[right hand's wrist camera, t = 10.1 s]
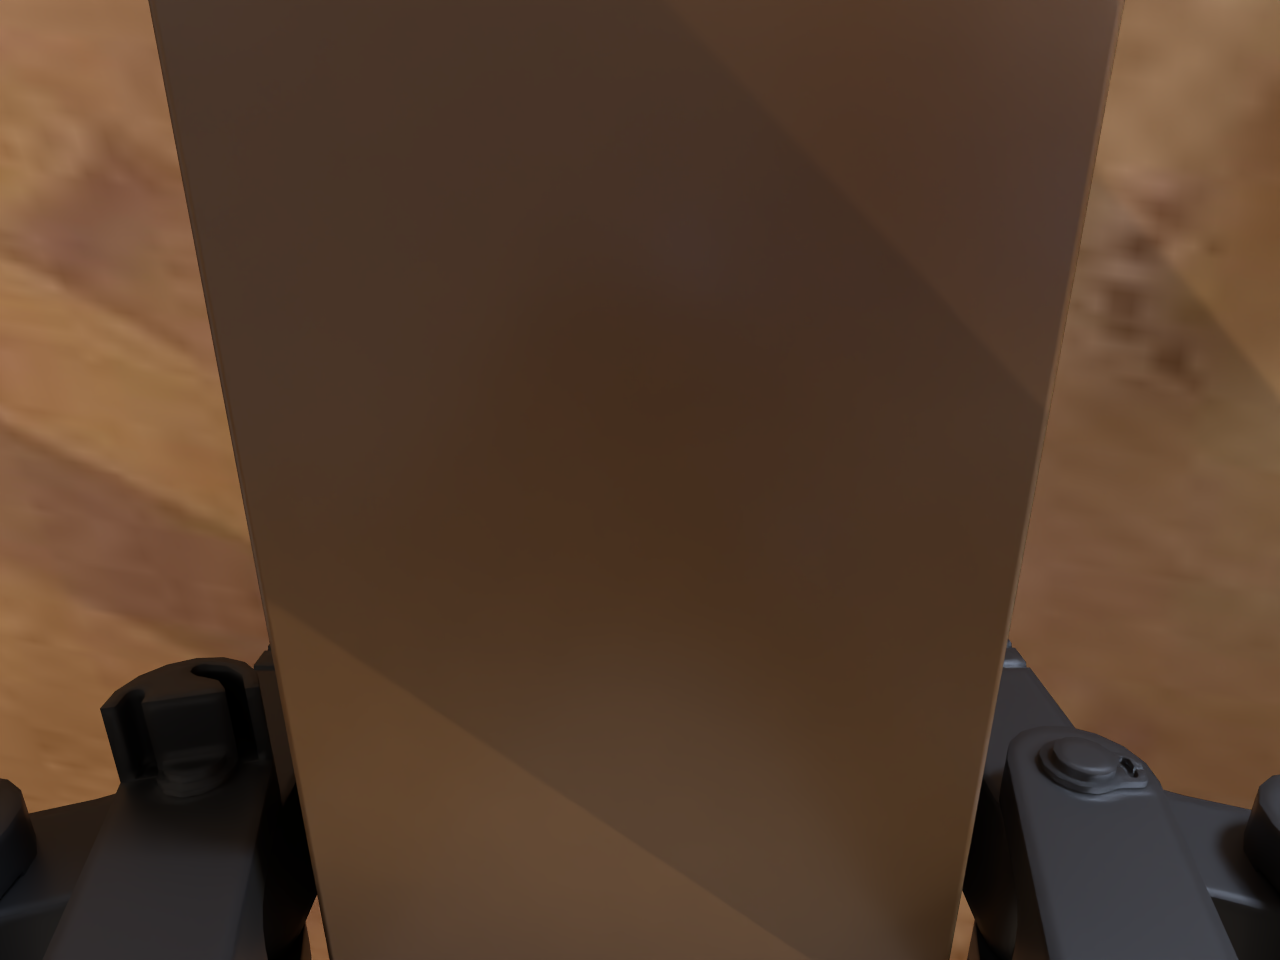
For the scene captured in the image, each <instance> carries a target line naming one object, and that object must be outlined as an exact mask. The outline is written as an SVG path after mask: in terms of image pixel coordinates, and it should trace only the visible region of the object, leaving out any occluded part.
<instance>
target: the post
mask: <svg viewBox="0 0 1280 960" xmlns="http://www.w3.org/2000/svg"><path fill="white" fill-rule="evenodd" d="M148 1H149V6H150V12H151V17H152V22H153V27H154V33H155V38H156V43H157V49H158V54H159V59H160V64H161V70H162V75H163V80H164V86H165V91H166V96H167V101H168V107H169V112H170V117H171V123H172V128H173V133H174V139H175V144H176V149H177V154H178V160H179V165H180V170H181V176H182V181H183V186H184V191H185V197H186V202H187V207H188V213H189V218H190V223H191V228H192V234H193V239H194V244H195V250H196V255H197V260H198V265H199V271H200V276H201V281H202V287H203V292H204V297H205V303H206V308H207V313H208V318H209V324H210V329H211V334H212V340H213V345H214V350H215V355H216V361H217V366H218V371H219V377H220V382H221V387H222V393H223V398H224V403H225V408H226V414H227V419H228V424H229V430H230V435H231V440H232V445H233V451H234V456H235V461H236V467H237V472H238V477H239V482H240V488H241V493H242V498H243V504H244V509H245V514H246V519H247V525H248V530H249V535H250V541H251V546H252V551H253V557H254V562H255V567H256V572H257V578H258V583H259V588H260V594H261V599H262V604H263V609H264V615H265V620H266V625H267V631H268V636H269V641H270V647H271V652H272V657H273V662H274V668H275V673H276V678H277V684H278V689H279V694H280V699H281V705H282V710H283V715H284V721H285V726H286V731H287V736H288V742H289V747H290V752H291V758H292V763H293V768H294V773H295V779H296V784H297V789H298V795H299V800H300V805H301V811H302V816H303V821H304V826H305V832H306V837H307V842H308V848H309V853H310V858H311V863H312V869H313V874H314V879H315V885H316V890H317V895H318V900H319V906H320V911H321V916H322V922H323V927H324V932H325V938H326V943H327V948H328V953H329V959H330V960H949V958H950V953H951V948H952V942H953V937H954V931H955V926H956V920H957V915H958V909H959V904H960V898H961V893H962V887H963V882H964V876H965V871H966V866H967V860H968V855H969V849H970V844H971V838H972V833H973V827H974V822H975V816H976V811H977V805H978V800H979V794H980V789H981V784H982V778H983V773H984V767H985V762H986V756H987V751H988V745H989V740H990V734H991V729H992V723H993V718H994V713H995V707H996V702H997V696H998V691H999V685H1000V680H1001V674H1002V669H1003V663H1004V658H1005V652H1006V647H1007V641H1008V636H1009V631H1010V625H1011V620H1012V614H1013V609H1014V603H1015V598H1016V592H1017V587H1018V581H1019V576H1020V570H1021V565H1022V559H1023V554H1024V549H1025V543H1026V538H1027V532H1028V527H1029V521H1030V516H1031V510H1032V505H1033V499H1034V494H1035V488H1036V483H1037V478H1038V472H1039V467H1040V461H1041V456H1042V450H1043V445H1044V439H1045V434H1046V428H1047V423H1048V417H1049V412H1050V406H1051V401H1052V396H1053V390H1054V385H1055V379H1056V374H1057V368H1058V363H1059V357H1060V352H1061V346H1062V341H1063V335H1064V330H1065V324H1066V319H1067V314H1068V308H1069V303H1070V297H1071V292H1072V286H1073V281H1074V275H1075V270H1076V264H1077V259H1078V253H1079V248H1080V243H1081V237H1082V232H1083V226H1084V221H1085V215H1086V210H1087V204H1088V199H1089V193H1090V188H1091V182H1092V177H1093V171H1094V166H1095V161H1096V155H1097V150H1098V144H1099V139H1100V133H1101V128H1102V122H1103V117H1104V111H1105V106H1106V100H1107V95H1108V89H1109V84H1110V79H1111V73H1112V68H1113V62H1114V57H1115V51H1116V46H1117V40H1118V35H1119V29H1120V24H1121V18H1122V13H1123V8H1124V2H1125V0H148Z"/></svg>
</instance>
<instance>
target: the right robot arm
mask: <svg viewBox="0 0 1280 960" xmlns="http://www.w3.org/2000/svg"><path fill="white" fill-rule="evenodd" d="M100 710H101V714H102V717H103V721H104V725H105V728H106V732H107V735H108V739H109V742H110V746H111V750H112V753H113V757H114V760H115V764H116V768H117V771H118V775H119V778H120V782H121V783H120V786H119V788H118V790H117V792H116V794H113V795H109V796H106V797H102V798H99V799H95V800H90V801H85V802H81V803H76V804H71V805H67V806H62V807H57V808H53V809H48V810H43V811H39V812H34V813H28V810H27V807H26V804H25V801H24V798H23V795H22V792H21V790H20V789H19V788H18V787H16V786H15V785H14V784H13V783H11V782H10V781H9V780H7V779H0V960H311V950H310V943H309V937H308V932H307V927H306V919H307V917H308V914H309V912H310V910H311V907H312V905H313V903H314V900H315V898H316V896H317V890H316V885H315V879H314V874H313V869H312V863H311V858H310V853H309V848H308V842H307V837H306V832H305V826H304V821H303V816H302V811H301V805H300V800H299V795H298V789H297V784H296V779H295V773H294V768H293V763H292V758H291V752H290V747H289V742H288V736H287V731H286V726H285V721H284V715H283V710H282V705H281V699H280V694H279V689H278V684H277V678H276V673H275V668H274V662H273V657H272V652H271V647H270V644H269V646H268V651H264V652H263V654H262V655H261V656H260V658H259V659H258V660H257V662H256V663H255V664H254V669H253V668H251V667H250V666H249V665H248V664H247V663H245V662H242V661H238V660H233V659H229V658H225V657H218V658H195V659H191V660H186V661H182V662H177V663H173V664H168V665H165V666H163V667H160V668H158V669H155V670H153V671H150V672H148V673H145V674H143V675H140V676H138V677H137V678H135V679H134V680H132V681H130V682H129V683H127V684H126V685H124V686H123V687H121V688H120V689H118V690H117V691H115V692H114V693H113V694H112V696H111V697H110V698H109V699H108V700H107V701H106V702H105V704H104V705H103V706H102V707H101V708H100ZM962 891H963V893H964V895H965V898H966V900H967V902H968V905H969V907H970V909H971V912H972V914H973V916H974V918H975V921H974V927H973V932H972V937H971V942H970V947H969V953H968V958H967V960H1280V775H1274V776H1272V777H1270V778H1269V779H1268V780H1267V781H1265V782H1264V783H1263V784H1262V785H1260V786H1259V789H1258V792H1257V795H1256V798H1255V801H1254V804H1253V807H1252V810H1249V809H1245V808H1240V807H1235V806H1231V805H1226V804H1221V803H1216V802H1212V801H1207V800H1202V799H1198V798H1193V797H1188V796H1184V795H1180V794H1176V793H1173V792H1169V791H1166V790H1163V789H1162V786H1161V784H1160V782H1159V780H1158V779H1157V778H1156V776H1155V775H1154V774H1153V772H1152V771H1151V770H1150V768H1149V767H1148V765H1147V764H1146V763H1145V762H1144V761H1142V760H1141V759H1140V758H1138V757H1137V756H1136V755H1134V754H1133V753H1132V752H1130V751H1129V750H1128V749H1126V748H1125V747H1124V746H1121V745H1119V744H1117V743H1115V742H1113V741H1111V740H1109V739H1106V738H1104V737H1102V736H1100V735H1098V734H1095V733H1091V732H1087V731H1083V730H1079V729H1075V727H1074V726H1073V725H1072V723H1071V722H1070V721H1069V719H1068V718H1067V717H1066V715H1065V714H1064V713H1063V711H1062V710H1061V709H1060V707H1059V706H1058V705H1057V703H1056V702H1055V701H1054V699H1053V698H1052V697H1051V695H1050V694H1049V693H1048V691H1047V690H1046V689H1045V687H1044V686H1043V685H1042V683H1041V682H1040V681H1039V679H1038V678H1037V677H1036V675H1035V674H1034V673H1033V671H1032V670H1031V669H1030V668H1027V667H1026V662H1025V661H1024V659H1023V658H1022V657H1021V655H1020V654H1019V653H1018V651H1017V650H1016V649H1015V648H1012V646H1011V642H1010V641H1009V639H1008V641H1007V647H1006V652H1005V658H1004V663H1003V669H1002V674H1001V680H1000V685H999V691H998V696H997V702H996V707H995V713H994V718H993V723H992V729H991V734H990V740H989V745H988V751H987V756H986V762H985V767H984V773H983V778H982V784H981V789H980V794H979V800H978V805H977V811H976V816H975V822H974V827H973V833H972V838H971V844H970V849H969V855H968V860H967V866H966V871H965V876H964V882H963V887H962Z"/></svg>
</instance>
